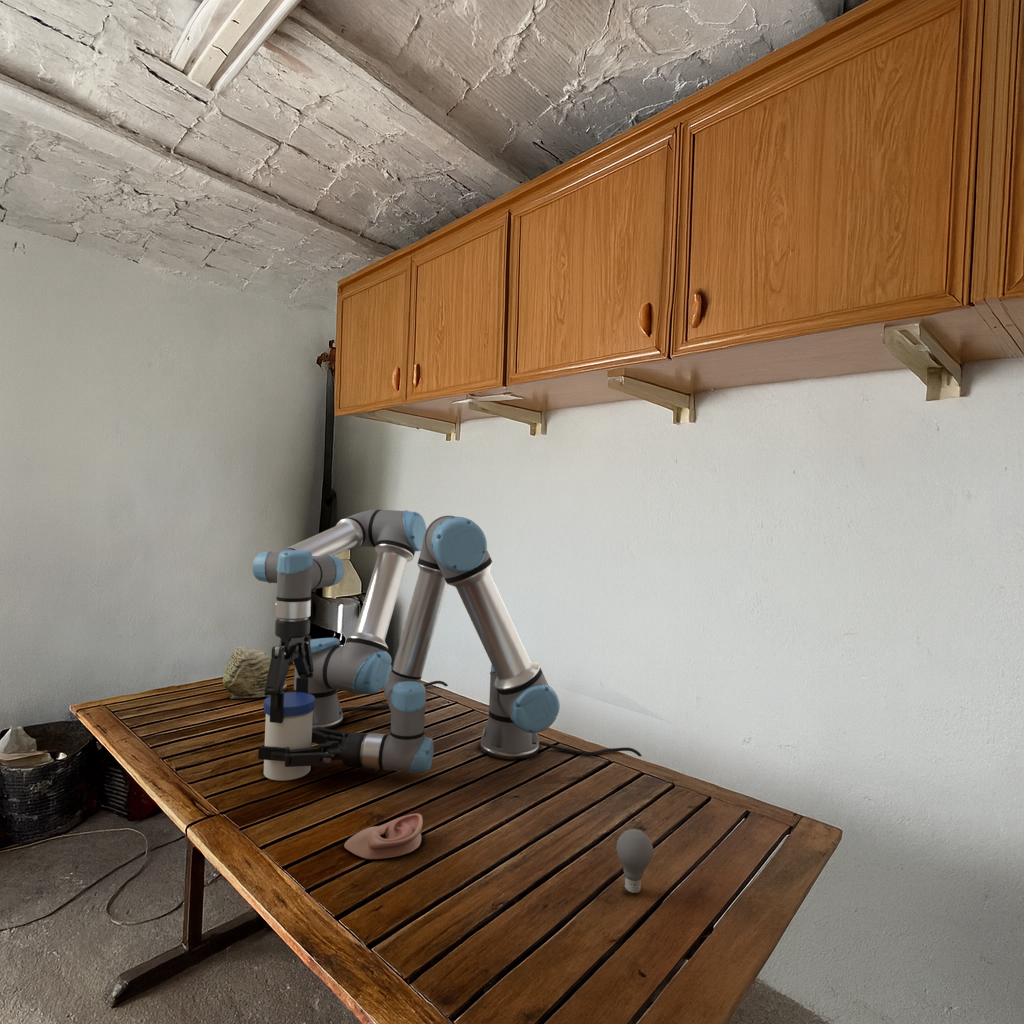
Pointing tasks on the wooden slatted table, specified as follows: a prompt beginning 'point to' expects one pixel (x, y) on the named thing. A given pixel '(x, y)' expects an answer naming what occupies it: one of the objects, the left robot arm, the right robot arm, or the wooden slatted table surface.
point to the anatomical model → (387, 838)
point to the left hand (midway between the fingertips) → (289, 713)
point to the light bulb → (634, 857)
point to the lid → (294, 704)
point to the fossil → (247, 673)
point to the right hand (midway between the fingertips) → (270, 743)
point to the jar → (287, 744)
